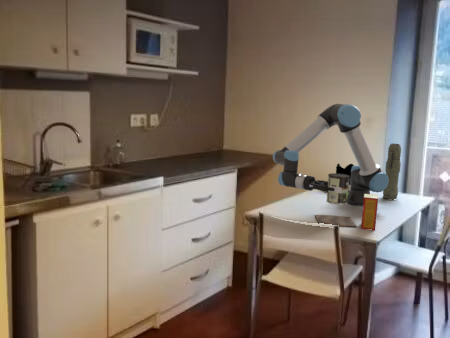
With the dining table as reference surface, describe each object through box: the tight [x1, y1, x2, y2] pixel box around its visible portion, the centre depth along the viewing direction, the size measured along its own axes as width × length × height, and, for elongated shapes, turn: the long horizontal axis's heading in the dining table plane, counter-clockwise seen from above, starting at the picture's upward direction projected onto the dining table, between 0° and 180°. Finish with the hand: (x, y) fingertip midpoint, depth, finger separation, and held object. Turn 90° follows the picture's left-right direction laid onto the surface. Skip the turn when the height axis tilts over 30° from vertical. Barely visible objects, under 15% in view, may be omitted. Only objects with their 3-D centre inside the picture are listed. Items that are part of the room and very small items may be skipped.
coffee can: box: [326, 172, 349, 206], centre depth 242 cm, size 10×10×14 cm
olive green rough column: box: [382, 143, 402, 200], centre depth 305 cm, size 9×12×35 cm
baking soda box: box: [360, 193, 379, 231], centre depth 235 cm, size 10×6×16 cm
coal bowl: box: [335, 163, 355, 193], centre depth 322 cm, size 20×20×19 cm
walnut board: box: [314, 214, 358, 228], centre depth 244 cm, size 18×18×1 cm
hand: (345, 189), depth 239 cm, fingers closed on coffee can, 10 cm apart
